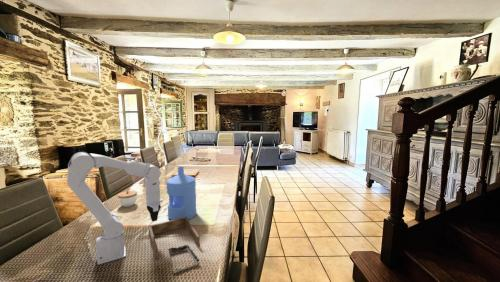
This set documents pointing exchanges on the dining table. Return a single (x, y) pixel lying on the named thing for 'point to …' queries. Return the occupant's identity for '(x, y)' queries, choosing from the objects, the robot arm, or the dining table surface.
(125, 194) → the lidded jar
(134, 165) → the robot arm
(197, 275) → the dining table surface
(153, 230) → the walnut u-shaped frame
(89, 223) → the dining table surface
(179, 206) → the water jug
